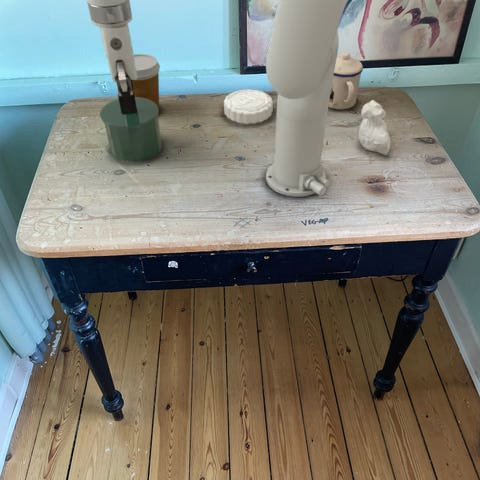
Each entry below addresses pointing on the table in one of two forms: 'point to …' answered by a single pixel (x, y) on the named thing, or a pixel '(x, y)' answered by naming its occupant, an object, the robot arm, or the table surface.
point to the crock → (135, 141)
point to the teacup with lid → (345, 82)
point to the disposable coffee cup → (146, 78)
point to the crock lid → (128, 121)
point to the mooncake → (248, 106)
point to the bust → (374, 129)
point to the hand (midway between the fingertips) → (127, 101)
